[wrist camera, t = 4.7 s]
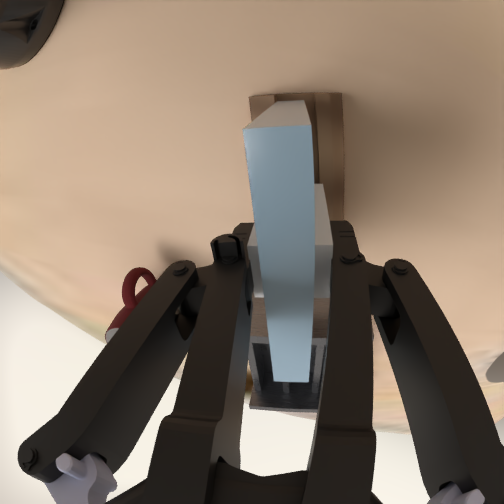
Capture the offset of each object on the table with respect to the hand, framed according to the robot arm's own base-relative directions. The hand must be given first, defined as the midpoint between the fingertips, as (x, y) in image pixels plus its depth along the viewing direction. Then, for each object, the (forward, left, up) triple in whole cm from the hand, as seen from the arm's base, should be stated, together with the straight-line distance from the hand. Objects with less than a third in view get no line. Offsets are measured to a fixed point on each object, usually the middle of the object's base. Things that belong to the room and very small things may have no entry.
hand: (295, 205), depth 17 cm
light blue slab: (0, 0, -4) cm, 4 cm away
